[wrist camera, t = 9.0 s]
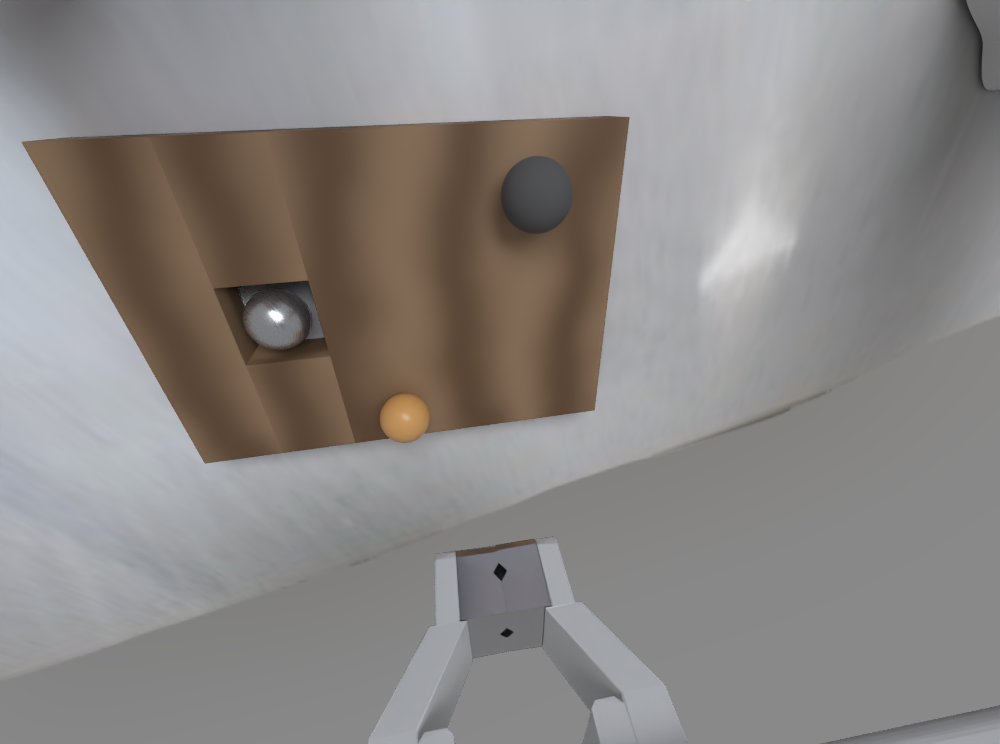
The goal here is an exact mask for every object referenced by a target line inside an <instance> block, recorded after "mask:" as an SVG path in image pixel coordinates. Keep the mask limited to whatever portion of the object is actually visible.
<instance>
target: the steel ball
mask: <svg viewBox="0 0 1000 744" xmlns="http://www.w3.org/2000/svg"><path fill="white" fill-rule="evenodd" d="M243 323H244V327H245V329H246V331H247V333H248V334H249V336H250V337H251V338H252V339H253V340H254V341H255V342H257V343H258V344H260V345H262V346H264V347H266V348H270V349H275V350H284V349H289V348H292V347H295V346H297V345H298V344H300V343H301V342H302V341H303V340H304V339H305V338H306V337H307V336H308V334H309V332H310V329H311V325H312V316H311V312H310V310H309V307H308V306H307V304H306V303H305V302H304V300H303V299H302V298H301V297H299V296H298V295H296V294H295V293H293V292H291V291H288V290H285V289H279V288H272V289H266V290H263V291H260V292H258V293H257V294H255V295H254V296H253V297H252V298H251V299H250V300H249V301H248V302H247V304H246V306H245V308H244V312H243Z"/></svg>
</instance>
